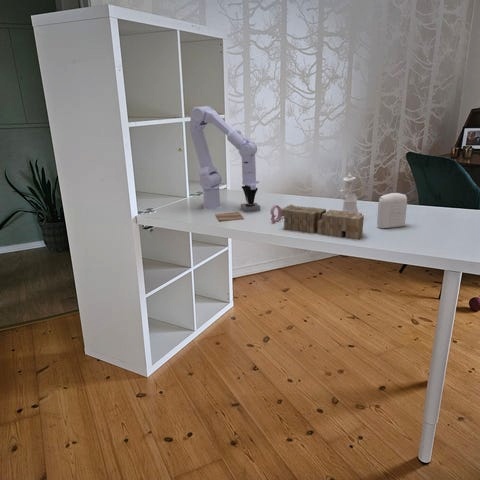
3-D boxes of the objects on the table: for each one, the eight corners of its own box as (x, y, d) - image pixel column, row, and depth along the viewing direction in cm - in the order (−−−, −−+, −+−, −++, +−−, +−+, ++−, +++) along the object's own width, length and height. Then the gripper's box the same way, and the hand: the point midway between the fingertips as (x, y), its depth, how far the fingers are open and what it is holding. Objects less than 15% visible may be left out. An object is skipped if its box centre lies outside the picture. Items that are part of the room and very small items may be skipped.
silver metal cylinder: (246, 209, 189) (245, 195, 187) (252, 208, 190) (252, 195, 188) (247, 210, 187) (247, 196, 185) (254, 209, 187) (253, 196, 185)
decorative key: (300, 219, 183) (272, 223, 168) (298, 219, 184) (269, 222, 169) (302, 203, 182) (273, 205, 167) (299, 203, 182) (271, 205, 167)
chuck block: (240, 209, 191) (240, 204, 190) (256, 208, 192) (256, 202, 192) (244, 213, 184) (244, 207, 184) (260, 211, 186) (260, 206, 185)
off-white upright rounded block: (400, 223, 161) (402, 190, 157) (406, 226, 157) (409, 193, 153) (375, 226, 159) (376, 193, 155) (381, 229, 155) (383, 195, 151)
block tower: (364, 236, 152) (289, 224, 167) (366, 213, 149) (290, 202, 165) (357, 243, 146) (280, 229, 161) (359, 219, 143) (280, 207, 158)
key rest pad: (215, 216, 182) (215, 214, 181) (238, 214, 184) (238, 212, 183) (219, 222, 172) (219, 220, 172) (243, 220, 174) (243, 218, 174)
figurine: (336, 216, 174) (338, 172, 168) (356, 215, 174) (358, 170, 168) (342, 221, 167) (344, 175, 161) (362, 220, 167) (365, 173, 162)
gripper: (262, 173, 177) (263, 205, 181) (254, 168, 190) (254, 198, 195) (245, 174, 176) (246, 207, 180) (238, 169, 189) (239, 199, 193)
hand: (250, 203), depth 187 cm, fingers closed on silver metal cylinder, 3 cm apart
